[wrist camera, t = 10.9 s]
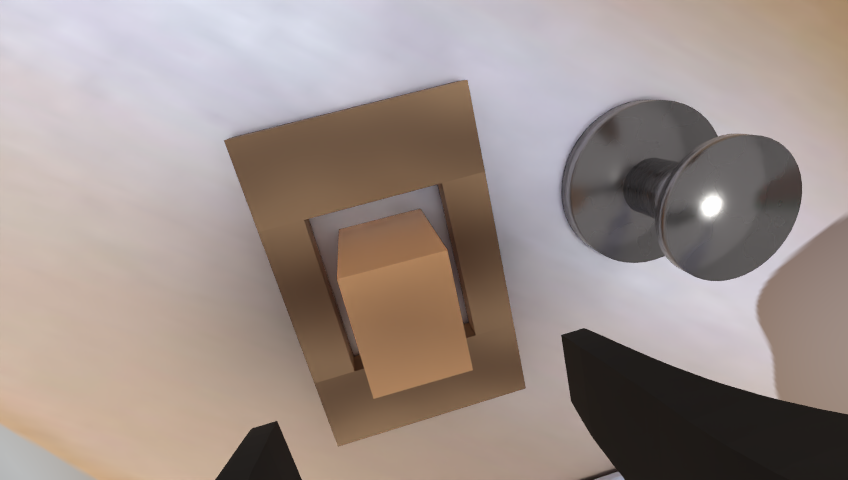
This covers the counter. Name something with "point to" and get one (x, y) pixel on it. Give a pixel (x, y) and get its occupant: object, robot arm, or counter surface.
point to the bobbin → (680, 191)
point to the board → (366, 182)
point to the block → (401, 302)
